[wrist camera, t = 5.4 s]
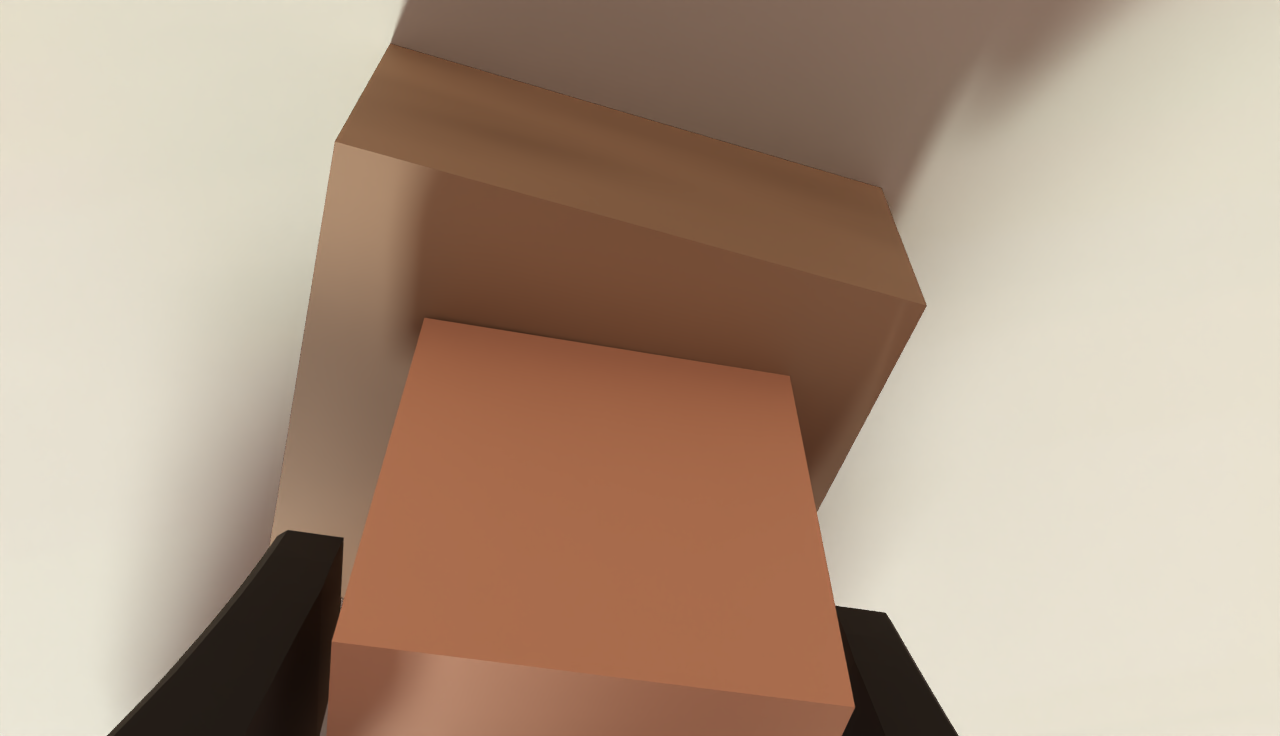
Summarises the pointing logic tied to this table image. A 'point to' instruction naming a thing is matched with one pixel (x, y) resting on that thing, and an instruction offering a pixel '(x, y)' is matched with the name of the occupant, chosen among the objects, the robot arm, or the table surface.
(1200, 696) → the table surface
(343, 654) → the rust block
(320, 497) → the walnut slab
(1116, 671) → the table surface
